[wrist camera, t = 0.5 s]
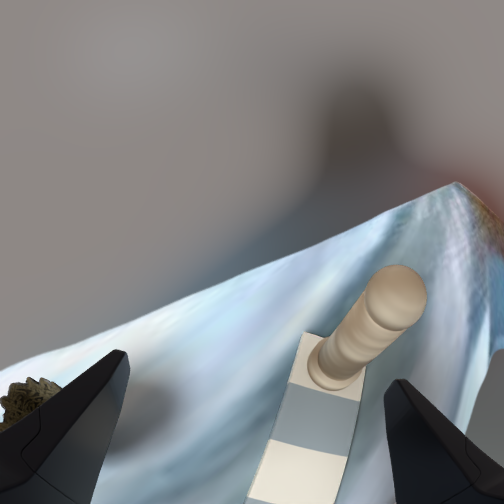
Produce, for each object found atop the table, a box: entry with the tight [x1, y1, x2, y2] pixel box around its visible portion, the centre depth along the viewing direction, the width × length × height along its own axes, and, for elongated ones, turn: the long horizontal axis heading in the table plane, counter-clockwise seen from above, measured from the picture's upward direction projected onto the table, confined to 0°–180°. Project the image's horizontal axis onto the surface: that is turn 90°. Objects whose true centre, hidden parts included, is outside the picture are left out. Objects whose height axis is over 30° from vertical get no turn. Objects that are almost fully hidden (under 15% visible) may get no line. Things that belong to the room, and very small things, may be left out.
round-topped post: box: [307, 265, 427, 391], centre depth 20 cm, size 5×5×14 cm
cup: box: [0, 377, 63, 432], centre depth 14 cm, size 8×7×8 cm
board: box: [243, 332, 366, 504], centre depth 20 cm, size 22×7×1 cm, turn 161°
